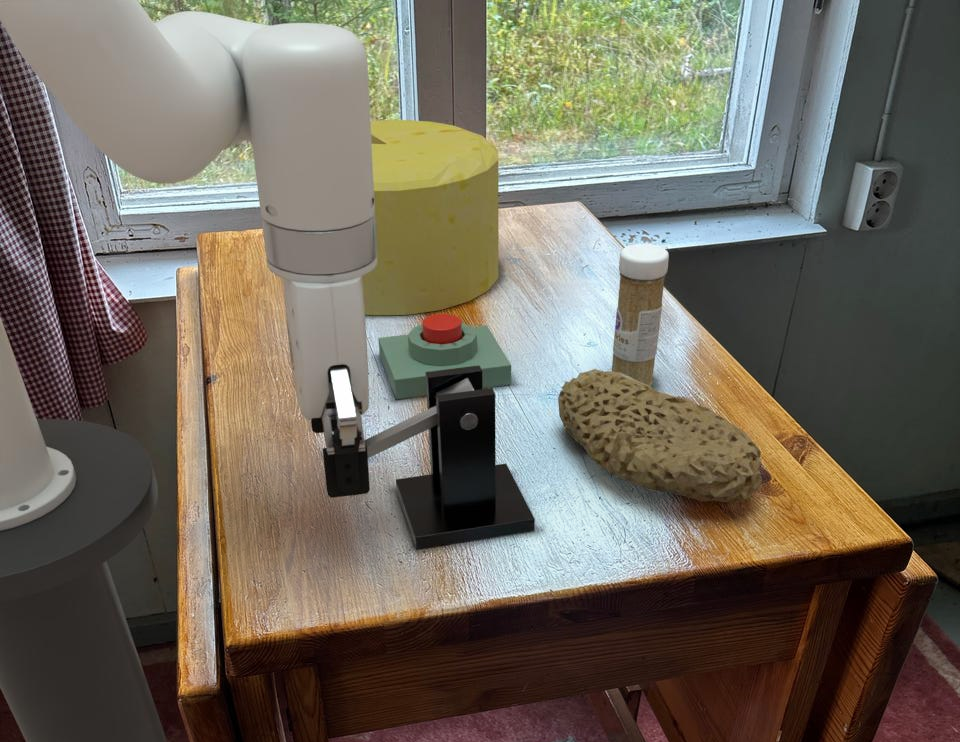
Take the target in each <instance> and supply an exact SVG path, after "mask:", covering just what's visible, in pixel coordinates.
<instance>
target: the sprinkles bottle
mask: <svg viewBox="0 0 960 742" xmlns="http://www.w3.org/2000/svg"><path fill="white" fill-rule="evenodd" d="M669 259H670V254H669V252H668V250H667V249H665V248H664V247H662V246H659V245H656V244H652V243H635V244H630V245H627V246H625V247H623V248H622V249H621V251H620V253H619V260H618V261H619V262H618V271H619V287H618V298H617V308H616V312H615V313H616V314H615V324H614V325H615V326H614V335H613V337H614V338H613V343H612V344H613V345H612V352H613V353H612V363H611V370H610V371H611V372H619V373H622V374H625V375H627V376H629V377H631V378H633V379H635V380H637V381H639V382H642V383H644V384H646V385H649V386H650V387H651V388H652V386H653V385H654V382H655V381H654V379H655V378H654V369H655V362H656V356H657V352H658V344H659V343H658V342H659V336H660V328H661V319H662V310H663V297H664V296H663V294H664V286H665V278H666V275H667V273H668V268H669Z"/></svg>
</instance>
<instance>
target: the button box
mask: <svg viewBox="0 0 960 742" xmlns="http://www.w3.org/2000/svg"><path fill="white" fill-rule="evenodd" d="M461 323H462V339H461V340H459V341H457V342H454V343H449V344H433V343H428V342H426V341H424V340H423V327H422V323H420V324H419V325H416V326H414V327H413V328H412V329H411V330H410V331H409V333H408V334H400V335H392V336H391V335H390V336H383V337H378V339H377V340H378V350H379V351H378V352H379V358H380V361H381V364H382V366H383V368H384V372H385V373H386V377H387V379H388V381H389V384H390V387H391V389H392V392H393V395H394V397H395V399H396V400H403V399H410V398H418V397H427V391H426V372H430V371H438V370H446V369H454V368H462V367H470V366H478V365H479V366H480V367H481V369H482V376H483V389H488V388H495V387H502V386H503V387H505V386H511V385H512V363H511V362H510V360H509V359H508V357H507V356H506V354H505V352H504V351H503V349H502V347H501V345H500V344H499V342H498V341H497V339H496V338H495V336H494V334H493V332H492V331H491V329H490V328H489V326H488V325H487V324H484V325H477V326H476V325H475V326H471V325H468V324H466V323H464V322H462V321H461Z"/></svg>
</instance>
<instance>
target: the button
mask: <svg viewBox="0 0 960 742" xmlns="http://www.w3.org/2000/svg"><path fill="white" fill-rule="evenodd" d="M461 322H462V319H461V317H459V316H457V315H454V314H451V313H435V314H432V315H431V314H430V315H429V316H426V317H424V319H423V320H422V321H421V324H422V327H423V340H424V341H426V342H428V343H433V344H449V343H454V342H457V341H459V340H461V339H462V323H463V322H462V323H461Z"/></svg>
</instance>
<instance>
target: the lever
mask: <svg viewBox="0 0 960 742" xmlns="http://www.w3.org/2000/svg"><path fill="white" fill-rule="evenodd" d="M473 390H474V388H473V386H472V384H471V383H470V381H469V379H468V378H466V379H464V380H462V381H460V382H458V383H456V384H454V385H451V386H449V387H447V388H445V389H443V390H441V391H439V392H437V393H436V395H442V394H450V393H458V392H465V391H473ZM436 425H437V405H436V406H434V407H432V408H430V409H428V410H427V409H426V410H423V411H422V412H420V413H417V414H415V415H413V416H412V417H409V418H406V419H405V420H403V421H400V422H399V423H397V424H395V425H392V426H391V427H389V428H386V429H385V430H382V431H381V432H378V433H376V434H374V435H372V436H370V437H368V438H366V439H364V440H365V444H366V445H367V454H368V459H370V458H372V457H374V456H376V455H378V454H380V453H382V452H384V451H386V450H388V449H391V448H392V447H394V446H397V445H398V444H401V443H403V442H405V441H407V440H409V439H412V438H413V437H415V436H417V435H419V434H421V433H424V432H425V431H429V429H430V428H432V427H434V426H436Z"/></svg>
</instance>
